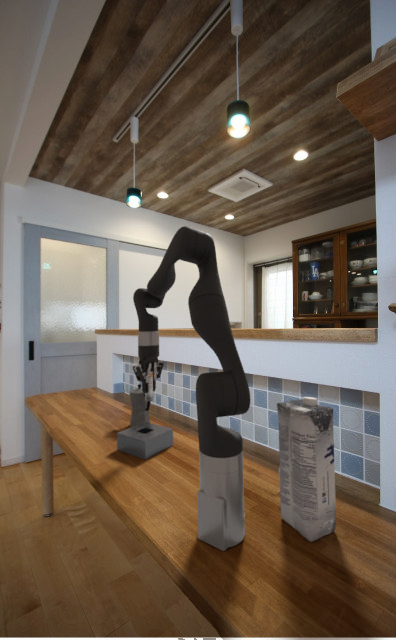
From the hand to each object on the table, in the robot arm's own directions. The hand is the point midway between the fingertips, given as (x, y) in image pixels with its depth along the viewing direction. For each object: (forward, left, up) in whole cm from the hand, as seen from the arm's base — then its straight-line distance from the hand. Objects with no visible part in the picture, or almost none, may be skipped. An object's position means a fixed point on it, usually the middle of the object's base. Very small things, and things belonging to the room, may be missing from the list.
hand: (149, 391), depth 105 cm
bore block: (-1, +2, -20) cm, 20 cm away
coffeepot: (+15, +21, -20) cm, 33 cm away
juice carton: (-11, -57, -20) cm, 62 cm away
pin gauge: (0, 0, -3) cm, 3 cm away
